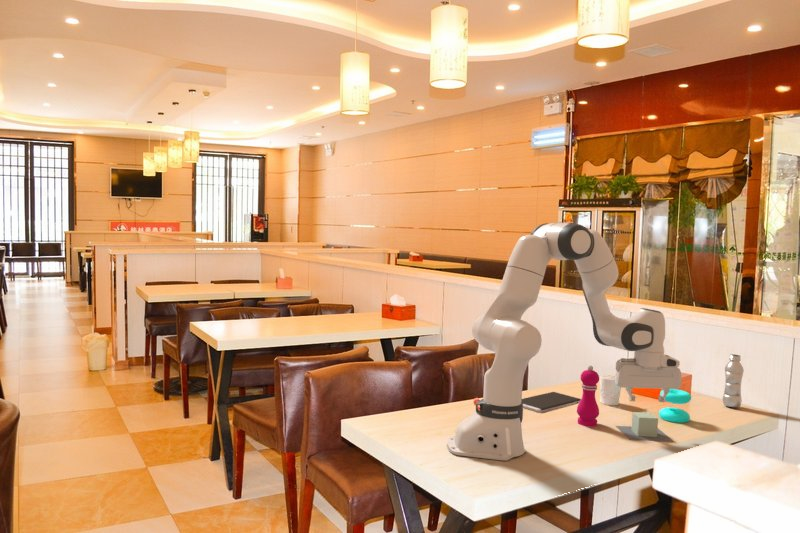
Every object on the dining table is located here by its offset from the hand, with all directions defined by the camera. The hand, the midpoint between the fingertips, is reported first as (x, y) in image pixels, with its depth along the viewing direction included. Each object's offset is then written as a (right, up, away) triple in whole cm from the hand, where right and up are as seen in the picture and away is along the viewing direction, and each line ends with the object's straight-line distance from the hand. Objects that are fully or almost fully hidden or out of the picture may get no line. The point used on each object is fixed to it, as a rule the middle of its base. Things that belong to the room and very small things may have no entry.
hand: (646, 401), depth 199 cm
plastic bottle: (+47, -11, +37) cm, 61 cm away
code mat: (-1, -11, 0) cm, 11 cm away
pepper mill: (-16, -10, +9) cm, 21 cm away
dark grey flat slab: (-24, -9, +34) cm, 42 cm away
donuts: (+17, -11, +18) cm, 27 cm away
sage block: (-1, -11, 0) cm, 11 cm away
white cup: (0, -9, +36) cm, 37 cm away
